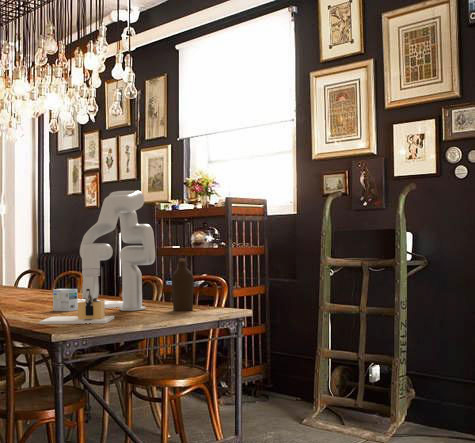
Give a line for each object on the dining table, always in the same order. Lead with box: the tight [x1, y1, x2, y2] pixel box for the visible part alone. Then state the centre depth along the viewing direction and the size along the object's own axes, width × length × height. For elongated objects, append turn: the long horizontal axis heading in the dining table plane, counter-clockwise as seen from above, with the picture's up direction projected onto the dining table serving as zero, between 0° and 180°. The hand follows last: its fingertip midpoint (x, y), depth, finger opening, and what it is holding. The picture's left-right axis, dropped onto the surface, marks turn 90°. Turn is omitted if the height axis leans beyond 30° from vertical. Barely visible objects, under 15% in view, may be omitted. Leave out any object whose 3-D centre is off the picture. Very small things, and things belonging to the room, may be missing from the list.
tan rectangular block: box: [77, 300, 106, 319], centre depth 276 cm, size 6×10×7 cm, turn 88°
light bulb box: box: [52, 288, 79, 312], centre depth 320 cm, size 11×7×11 cm, turn 65°
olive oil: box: [171, 258, 195, 312], centre depth 312 cm, size 11×11×25 cm
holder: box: [78, 298, 123, 310], centre depth 345 cm, size 45×18×3 cm, turn 39°
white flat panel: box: [39, 315, 115, 325], centre depth 277 cm, size 16×28×1 cm, turn 88°
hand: (91, 314), depth 276 cm, fingers closed on tan rectangular block, 6 cm apart
